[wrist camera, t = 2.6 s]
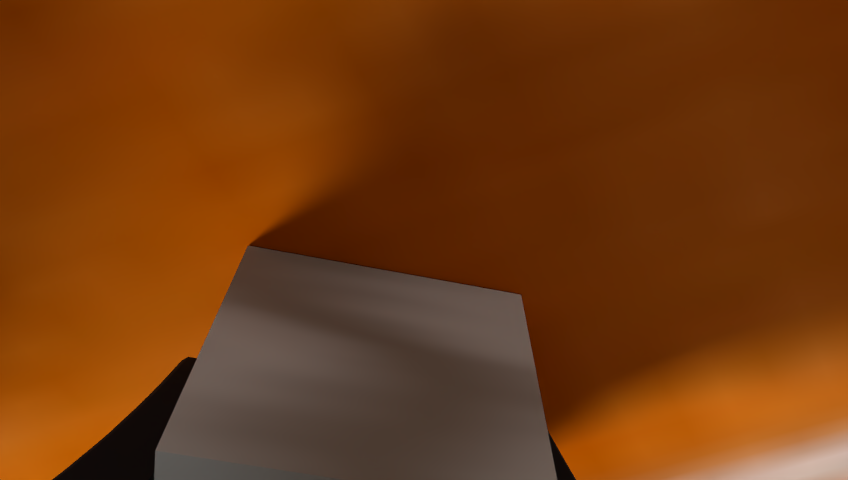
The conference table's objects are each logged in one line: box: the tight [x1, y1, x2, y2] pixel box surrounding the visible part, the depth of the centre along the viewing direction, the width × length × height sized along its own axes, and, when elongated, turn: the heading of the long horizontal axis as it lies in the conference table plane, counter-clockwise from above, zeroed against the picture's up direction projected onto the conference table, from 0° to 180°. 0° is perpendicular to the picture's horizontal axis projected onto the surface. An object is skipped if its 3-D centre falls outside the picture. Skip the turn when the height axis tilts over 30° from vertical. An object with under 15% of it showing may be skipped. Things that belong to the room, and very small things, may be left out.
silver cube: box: [154, 246, 557, 480], centre depth 12 cm, size 5×5×5 cm
